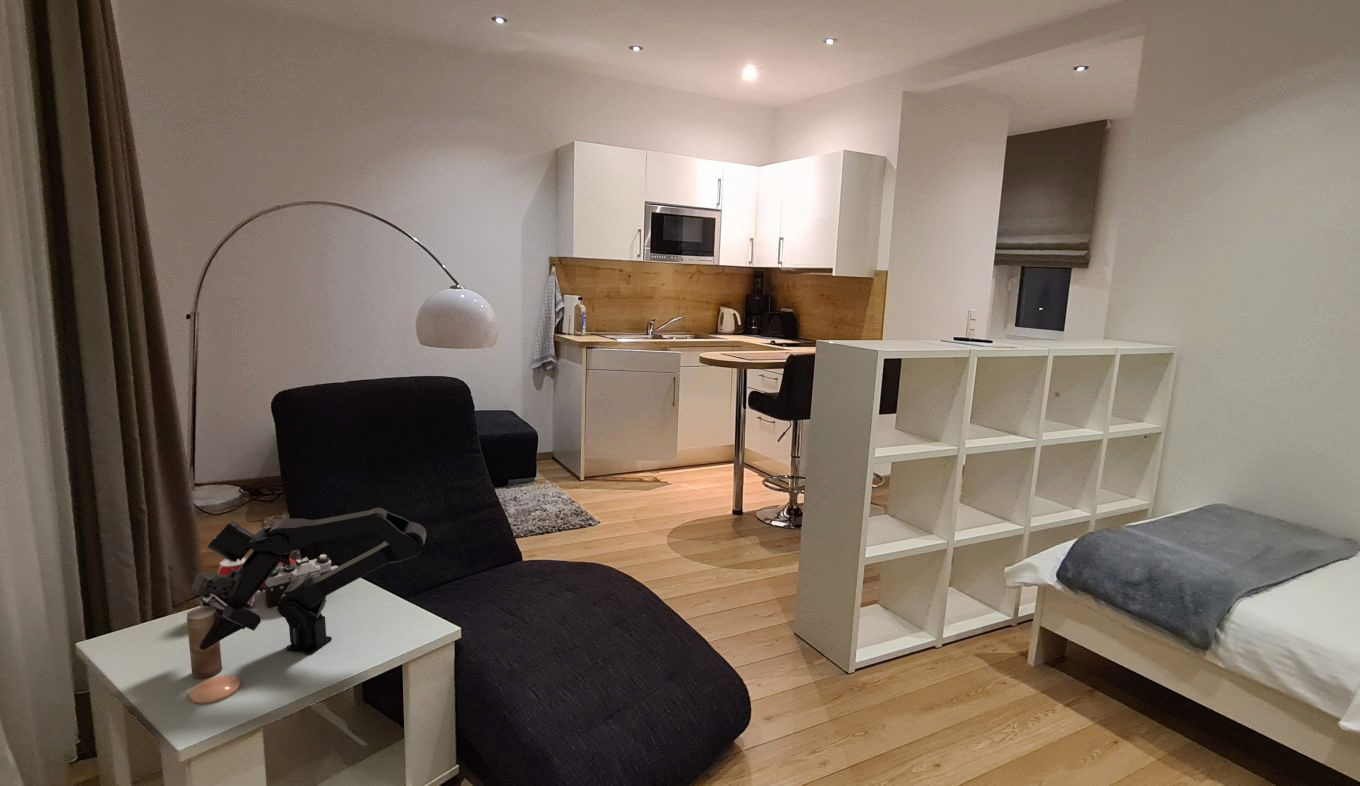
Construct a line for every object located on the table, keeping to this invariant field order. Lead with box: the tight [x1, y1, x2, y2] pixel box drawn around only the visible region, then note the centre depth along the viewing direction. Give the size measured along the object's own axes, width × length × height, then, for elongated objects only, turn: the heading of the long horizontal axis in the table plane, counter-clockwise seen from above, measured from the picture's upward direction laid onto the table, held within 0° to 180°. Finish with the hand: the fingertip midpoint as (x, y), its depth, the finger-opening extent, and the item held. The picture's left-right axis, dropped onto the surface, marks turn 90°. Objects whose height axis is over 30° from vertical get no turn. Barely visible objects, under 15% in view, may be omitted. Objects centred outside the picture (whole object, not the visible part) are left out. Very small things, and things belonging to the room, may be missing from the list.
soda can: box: [216, 556, 256, 610], centre depth 167 cm, size 7×7×12 cm
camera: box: [264, 553, 332, 610], centre depth 171 cm, size 15×11×10 cm
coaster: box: [189, 675, 241, 705], centre depth 135 cm, size 8×8×1 cm
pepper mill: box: [186, 606, 223, 680], centre depth 140 cm, size 5×5×13 cm
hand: (196, 644), depth 139 cm, fingers closed on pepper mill, 5 cm apart
